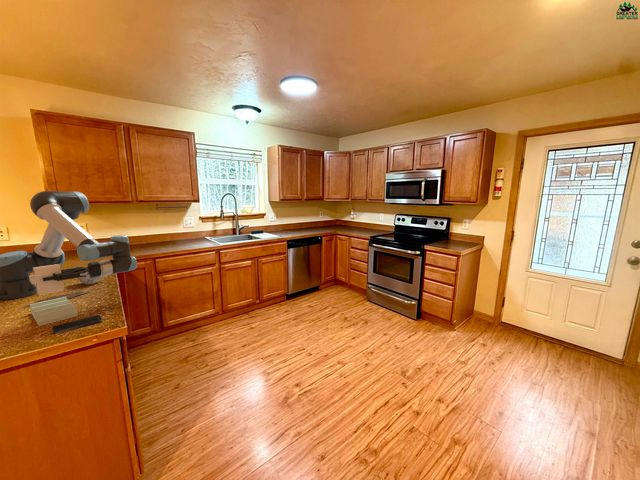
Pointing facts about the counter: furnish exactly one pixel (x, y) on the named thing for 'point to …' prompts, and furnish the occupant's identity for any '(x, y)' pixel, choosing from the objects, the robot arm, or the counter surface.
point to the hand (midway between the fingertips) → (30, 280)
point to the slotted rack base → (53, 310)
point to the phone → (76, 324)
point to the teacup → (90, 279)
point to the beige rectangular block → (50, 285)
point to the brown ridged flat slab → (60, 297)
